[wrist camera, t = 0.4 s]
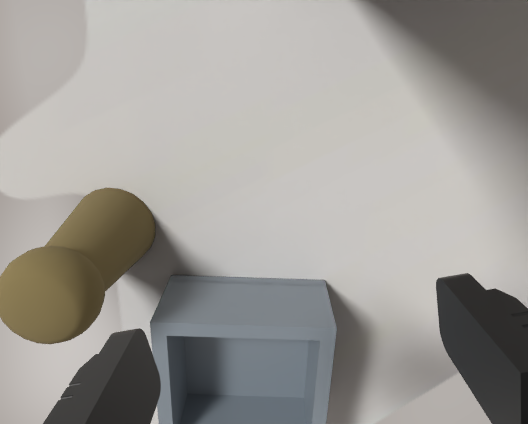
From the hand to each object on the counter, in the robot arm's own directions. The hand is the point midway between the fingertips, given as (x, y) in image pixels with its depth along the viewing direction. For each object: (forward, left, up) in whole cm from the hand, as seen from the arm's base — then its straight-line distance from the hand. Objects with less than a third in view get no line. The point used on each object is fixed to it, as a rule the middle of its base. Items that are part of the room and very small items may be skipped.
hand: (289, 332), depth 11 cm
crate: (+15, -2, -18) cm, 24 cm away
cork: (+5, -12, -19) cm, 23 cm away
